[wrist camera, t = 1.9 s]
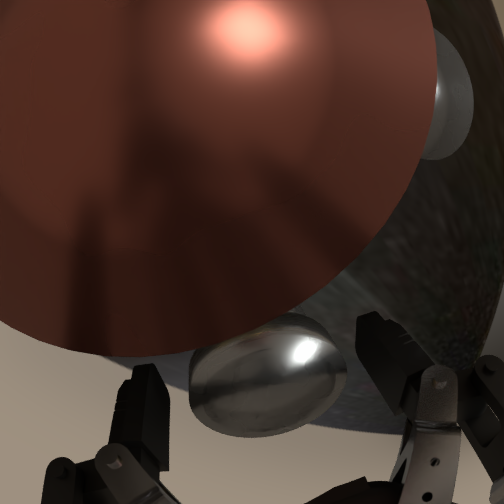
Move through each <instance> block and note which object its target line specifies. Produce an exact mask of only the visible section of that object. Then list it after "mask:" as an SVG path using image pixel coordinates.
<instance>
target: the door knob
mask: <svg viewBox="0 0 504 504" xmlns="http://www.w3.org/2000/svg"><path fill="white" fill-rule="evenodd" d="M346 378H347V367H346V363H345V361H344V358H343V356H342V355H341V353H340V351H339V350H338V348H337V346H336V344H335V343H334V341H333V339H332V338H331V336H330V334H329V333H328V331H327V330H326V329H325V328H324V327H323V326H322V325H321V324H320V323H318V322H317V321H315V320H314V319H312V318H309V317H307V316H306V314H305V312H304V311H303V309H302V307H301V305H300V304H299V305H297V306H296V307H295V308H293V309H292V310H290V311H288V312H286V313H284V314H283V315H281V316H279V317H277V318H275V319H273V320H271V321H269V322H268V323H266V324H264V325H262V326H260V327H258V328H256V329H254V330H251V331H249V332H246V333H244V334H241V335H239V336H236V337H233V338H231V339H228V340H225V341H223V342H220V343H217V344H214V345H210V346H206V347H201V348H197V349H196V350H195V351H194V353H193V355H192V357H191V360H190V364H189V403H190V407H191V409H192V412H193V413H194V415H195V416H196V418H197V419H198V420H199V421H200V422H201V423H203V424H204V425H205V426H207V427H209V428H211V429H212V430H215V431H217V432H219V433H222V434H226V435H230V436H236V437H244V438H245V437H246V438H254V437H255V438H256V437H267V436H273V435H277V434H282V433H285V432H289V431H291V430H294V429H297V428H299V427H301V426H303V425H305V424H307V423H309V422H311V421H313V420H314V419H316V418H317V417H319V416H320V415H321V414H323V413H324V412H325V411H326V410H327V409H328V408H329V407H331V406H332V404H333V403H334V402H335V401H336V400H337V398H338V397H339V395H340V394H341V392H342V390H343V388H344V386H345V383H346Z"/></svg>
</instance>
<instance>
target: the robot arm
mask: <svg viewBox="0 0 504 504" xmlns="http://www.w3.org/2000/svg"><path fill="white" fill-rule="evenodd" d="M355 348H356V353H357V356H358V358H359V360H360V361H361V363H362V364H363V366H364V368H365V369H366V371H367V372H368V374H369V375H370V377H371V379H372V380H373V382H374V383H375V385H376V386H377V388H378V390H379V391H380V393H381V394H382V396H383V398H384V399H385V401H386V402H387V404H388V406H389V407H390V409H391V411H392V412H393V414H394V415H395V416H396V415H399V414H401V413H403V412H404V413H405V414H406V416H407V419H406V422H405V427H404V432H403V437H402V441H401V446H400V450H399V453H398V457H397V461H396V464H395V466H394V469H393V471H392V474H391V477H390V480H389V482H388V481H372V482H367V480H366V477H365V476H364V477H361V478H359V479H356V480H354V481H351V482H349V483H345V484H343V485H340V486H337V487H334V488H332V489H330V490H329V491H327V492H325V493H324V494H322V495H320V496H318V497H316V498H314V499H312V500H311V501H309V502H307V503H304V504H456V503H453V502H452V497H453V492H454V487H455V481H456V475H457V468H458V461H459V452H460V443H461V429H462V431H463V432H464V434H465V436H466V437H467V439H468V440H469V442H470V444H471V445H472V447H473V449H474V450H475V452H476V454H477V455H478V457H479V459H480V460H481V462H482V464H483V466H484V468H485V469H486V471H487V473H488V475H489V476H490V478H491V480H492V482H493V485H492V487H491V492H490V498H489V501H490V503H491V504H504V362H503V361H502V360H501V359H499V358H498V357H496V356H493V355H484V356H482V357H480V358H479V359H478V360H477V361H476V363H475V365H474V368H469V369H465V370H460V371H453V370H452V369H451V368H449V367H447V366H444V365H435V364H434V362H433V361H432V360H431V359H430V358H429V357H428V355H427V354H426V353H425V352H424V351H423V350H422V349H421V347H420V346H419V345H418V344H417V343H416V342H415V341H413V338H412V337H411V336H410V335H408V333H407V332H406V331H405V329H404V328H403V327H402V326H401V325H400V324H398V323H396V322H394V321H392V320H390V319H389V320H386V321H385V320H384V319H383V318H382V317H381V316H380V315H379V313H378V312H376V311H373V312H370V313H367V314H364V315H361V316H358V317H357V321H356V340H355ZM116 402H117V403H116V404H115V411H114V414H113V420H112V425H111V431H110V436H109V442H108V445H105V446H104V447H102V448H101V449H100V450H99V451H98V453H97V454H96V456H95V458H94V459H91V460H87V461H84V462H80V463H76V464H75V463H73V462H72V461H71V460H70V459H68V458H66V457H59V458H56V459H54V460H52V461H51V462H50V463H49V465H48V467H47V469H46V474H45V480H44V486H43V492H42V500H41V504H181V503H180V502H179V501H178V500H177V499H176V498H175V496H174V495H173V494H172V493H171V492H170V491H169V490H168V489H167V488H166V487H165V486H164V485H163V484H162V482H161V481H160V480H159V473H160V472H161V471H169V426H170V425H169V424H170V397H169V393H168V390H167V387H166V386H165V384H164V382H163V380H162V378H161V376H160V374H159V372H158V370H157V368H156V366H155V365H154V364H153V363H150V364H143V365H136V366H134V368H133V372H132V378H131V379H129V380H125V381H124V382H123V384H122V385H121V387H120V388H119V390H118V394H117V399H116ZM488 405H489V406H488ZM490 408H491V409H492V410H493V412H494V413H495V414H494V413H493V412H492V410H491V409H490ZM495 415H496V416H497V417H496V416H495ZM497 418H498V419H499V420H498V419H497ZM456 423H458V424H459V426H460V427H459V426H457V424H456Z"/></svg>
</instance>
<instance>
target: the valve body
mask: <svg viewBox="0 0 504 504" xmlns="http://www.w3.org/2000/svg"><path fill="white" fill-rule="evenodd" d="M473 104H474V102H473V91H472V85H471V81H470V78H469V75H468V72H467V69H466V67H465V65H464V62H463V61H462V59H461V57H460V55H459V54H458V52H457V51H456V49H455V48H454V46H453V45H452V44H451V43H450V42H449V41H448V40H447V39H446V38H445V37H444V36H443V35H442V34H441V33H440V32H438V31H437V30H436V29H434V28H433V26H432V21H431V16H430V12H429V9H428V6H427V3H426V0H0V321H2V322H4V323H5V324H7V325H8V326H10V327H11V328H14V329H16V330H18V331H20V332H22V333H24V334H26V335H28V336H30V337H33V338H35V339H37V340H39V341H42V342H45V343H48V344H52V345H55V346H58V347H61V348H64V349H68V350H72V351H77V352H83V353H89V354H95V355H102V356H119V357H146V356H156V355H165V354H174V353H180V352H185V351H189V350H193V349H197V348H201V347H206V346H210V345H214V344H217V343H220V342H223V341H225V340H228V339H231V338H233V337H236V336H239V335H241V334H244V333H246V332H249V331H251V330H254V329H256V328H258V327H260V326H262V325H264V324H266V323H268V322H269V321H271V320H273V319H275V318H277V317H279V316H281V315H283V314H284V313H286V312H288V311H290V310H292V309H293V308H295V307H296V306H297V305H299V304H300V303H302V302H303V301H305V300H306V299H307V298H309V297H310V296H312V295H313V294H314V293H316V292H317V291H319V290H320V289H321V288H323V287H324V286H326V285H327V284H328V283H329V282H330V281H331V280H332V279H333V278H335V277H336V276H337V275H338V274H339V273H340V272H341V271H342V270H343V269H344V268H345V267H347V266H348V265H349V264H350V263H351V262H352V261H353V260H354V259H355V258H356V257H357V256H358V255H359V254H360V253H361V252H362V250H363V249H364V248H365V247H366V246H367V245H368V243H369V242H370V241H371V240H372V239H373V237H374V236H375V235H376V234H377V233H378V231H379V230H380V229H381V228H382V226H383V225H384V224H385V222H386V221H387V219H388V218H389V216H390V215H391V213H392V212H393V210H394V208H395V207H396V205H397V204H398V202H399V200H400V199H401V197H402V196H403V194H404V192H405V191H406V189H407V187H408V185H409V182H410V180H411V178H412V176H413V174H414V171H415V169H416V167H417V165H418V162H419V160H420V158H422V159H427V160H437V159H442V158H445V157H447V156H449V155H451V154H452V153H454V152H455V151H456V150H457V149H458V148H459V147H460V146H461V145H462V143H463V142H464V140H465V138H466V136H467V134H468V132H469V129H470V126H471V122H472V117H473Z"/></svg>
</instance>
